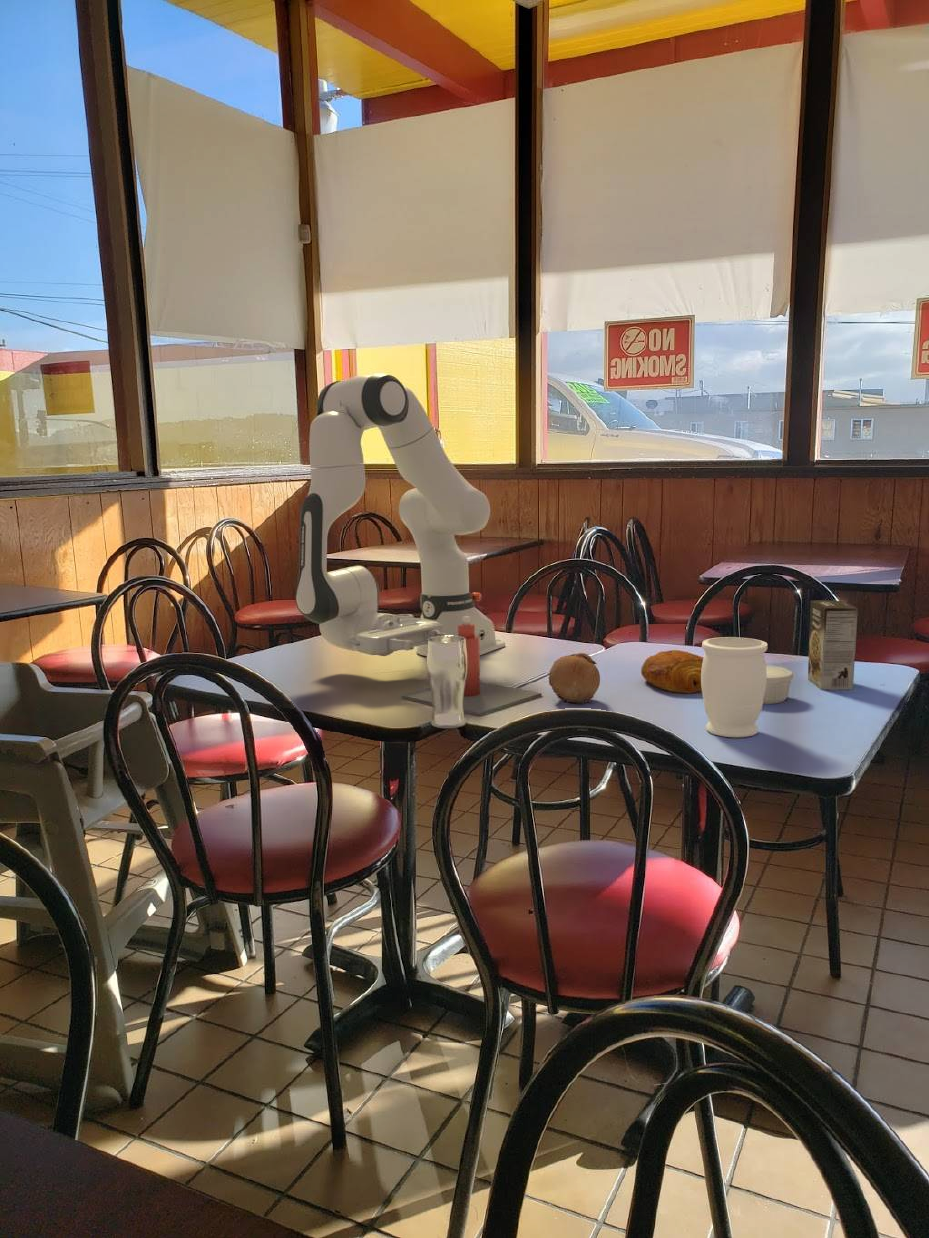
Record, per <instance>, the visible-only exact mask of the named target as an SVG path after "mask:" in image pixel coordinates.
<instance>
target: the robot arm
mask: <svg viewBox="0 0 929 1238" xmlns="http://www.w3.org/2000/svg"><path fill="white" fill-rule="evenodd" d="M316 411H317V412H316V417H315V418H314V419H313V420H312V421H311V424H310V427H309V428H310V430H309V446H308V448H309V450H308V452H309V465H310V485H309V490H308V494H307V495H306V497H305V498H304V499H303V501H302V504H301V507H300V508H301V509H300V515H299V517H300V519H299V546H298V547H299V550H298V551H299V552H298V577H297V583H296V588H295V596H294V597H295V599H294V600H295V605H296V607H297V609H298V611H299V612H300V614H301V615H302V616H303V617H304V618H306V619H307V620H309V621H310V622H312V623H314V624H317V625H318V624H319V632H320V634H321V637H323V639H324V640H325V641H326V642H327V643H329V644H330V645H333V646H334V647H336V648H340V649H342V650H348V651H352V652H359V653H362V654H366V655H368V656H380V657H387V656H390V655H391V654H393V653H395V652H397V651H402V650H403V651H411V650H414V649H415V647H416V649H417V650H416V654H418V655H420V656H425V657H427V645H428V639H429V638H431V637H436V636H458V625H459V624H463V619H462V617H463V616H469V617H470V624H474V625H475V636H478V637H479V657H481V656H482V655H484V654H487V653H490V652H493V651H495V650H498V649H500V648H503V647H506V642H505V641H504V640H501V639H497V638H496V632H495V631H496V630H495V625H494V623H493V621H492V620H491V619H490V618H488V617H487V616H486V615H484V613H482V612H481V611H480V610H479V609H477V608H476V607H475V606H476V605H475V602H474V601H476V602H480V601H481V600H482V598H483V596H482V593H481V592H476V591H475V592H474V591H473V592H472V593H471V592H470V591H469V590H470V580H469V579H470V577H469V575H470V574H469V560H468V557H467V556H466V554H465V553H464V552H463V551H462V550H461V549H460V548H459V546H458V544H457V540H456V538H455V535H457V536H458V535H459V536H465V535H469V534H473V533H477V532H480V531H481V530H483V529H484V528H485V527H486V526H487V524H488V521H489V519H490V516H491V505H490V501H489V499H488V497H487V496H486V495H485V493H484V492H482V491H481V490H480V489H477V488H476V487H474V486H473V485H472V484H471V483H469V482H468V480H467V479H466V478H465V477H464V476H463V475H462V474H461V473H460V472H459V470H458V469H457V468H456V467H455V466H454V464H453V463H452V461H451V460H450V459H449V457H448V455H447V454H446V452H445V450H444V448H443V446H442V444H441V442H440V440H439V439H440V438H438V436H437V433H436V431H435V428H434V426H433V424H432V422H431V420H430V418H429V416H428V414H427V412H426V410H425V408H424V407H423V405H422V404H421V402H420V400H419V399H418V397H417V395H415V393H414V391H412V390H411V389H410V388H408V387H406V386H404V384H403V383H402V382H401V381H400V380H399V379H398V378H397V377H395V376H394V375H391V374H388V373H380V372H377V373H374V374H361V375H356V376H355V375H354V376H352V377H349V378H346V379H343V380H336V381H332V382H331V383H329V384H327V385H325V386H324V387H323V389H322V390H320V392H319V395H318V398H317V403H316ZM373 428H377V429H378V430H380V432H381V433H380V434H381V435H382V438H383V440H384V443H385V444H386V448H387V449H388V451H389V454H390V456H391V458H392V461H394V464H395V466H396V468H397V471H398V472H399V475H400V476H401V477H402V479H404V480H405V482H408V483H409V484H410V485H411V486H413V487H414V488H412V489H409V490H407V491H405V492H404V494H402V496H401V498H400V500H399V503H398V515H399V518H400V520H401V522H402V523H403V524H404V525H405V527H407V529H408V530H409V532H410V534H411V535H412V538H413V540H414V543H415V546H416V549H417V553H418V556H419V557H418V558H419V563H420V574H421V575H420V576H421V577H420V578H421V579H420V580H421V593H420V597H419V602H420V603H419V605H420V606H419V608H420V609H421V615H420V617H414V616H415V615H414V614H411V613H401V614H394V613H393V614H391V613H386V612H385V613H384V612H378V610H379V604H380V590H379V589H380V588H379V587H380V586H379V583H378V581H377V579H376V577H375V575H374V573H372V572H371V571H370V570H369V569H368V568H367V567H365V566H363V565H353V566H348V567H342V568H339V569H336V570H332V571H328V570H327V566H328V565H327V563H328V562H327V560H328V559H327V558H328V557H327V556H328V536H329V535H328V533H329V531H330V528H331V526H332V525H333V523H334V522H335V521H336V520H337V519H338V518H339V517H341V516H342V515H343V514H344V513H345V512H347V511H348V510H350V509H352V508H353V507H354V506H355V505H356V504H357V503H358V502H359V500H360V499H361V498H362V497H363V494H364V492H365V488H366V469H365V461H364V455H363V448H362V444H361V443H362V437H363V434H364V431H366V430H370V429H373Z"/></svg>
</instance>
